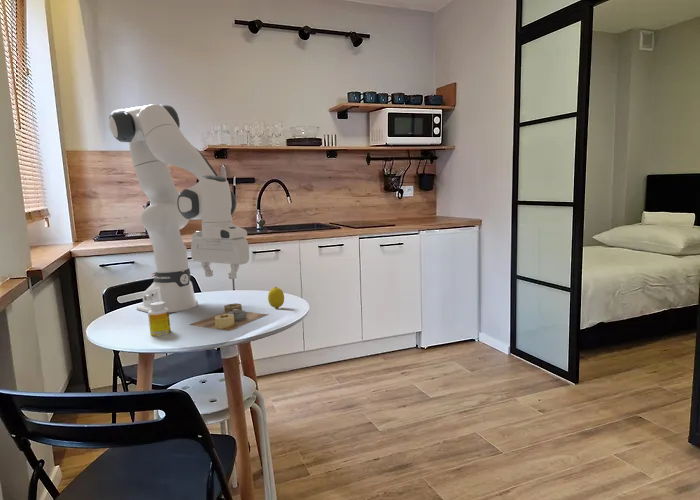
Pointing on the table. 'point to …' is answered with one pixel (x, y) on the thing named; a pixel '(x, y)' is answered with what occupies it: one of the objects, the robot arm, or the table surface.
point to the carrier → (239, 317)
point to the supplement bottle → (159, 319)
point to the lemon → (276, 297)
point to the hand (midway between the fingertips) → (220, 277)
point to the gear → (224, 321)
